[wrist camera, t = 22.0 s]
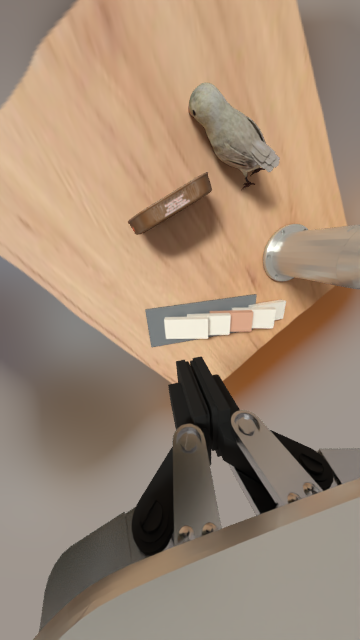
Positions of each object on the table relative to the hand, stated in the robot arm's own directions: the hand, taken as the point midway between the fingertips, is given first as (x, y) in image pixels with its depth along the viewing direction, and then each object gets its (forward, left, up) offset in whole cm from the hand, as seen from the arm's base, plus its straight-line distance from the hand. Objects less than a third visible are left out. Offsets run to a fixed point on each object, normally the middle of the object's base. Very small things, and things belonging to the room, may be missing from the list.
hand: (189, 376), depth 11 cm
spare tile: (-12, +10, -28) cm, 32 cm away
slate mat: (-11, +10, -29) cm, 33 cm away
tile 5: (-23, +10, -28) cm, 37 cm away
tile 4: (-18, +10, -28) cm, 35 cm away
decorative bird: (-15, -23, -30) cm, 40 cm away
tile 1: (-1, +10, -28) cm, 30 cm away
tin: (-4, -14, -29) cm, 33 cm away
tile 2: (-6, +10, -28) cm, 30 cm away
